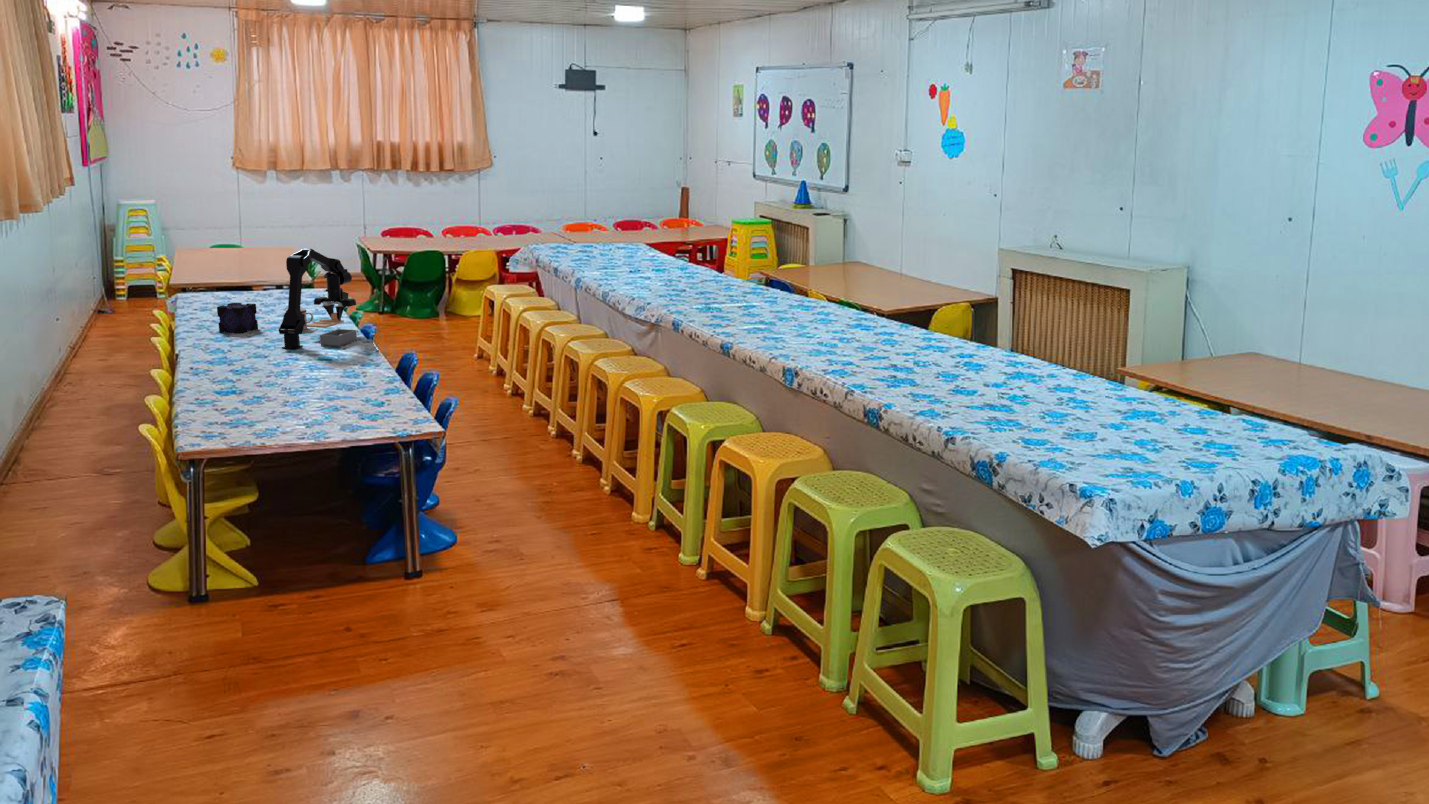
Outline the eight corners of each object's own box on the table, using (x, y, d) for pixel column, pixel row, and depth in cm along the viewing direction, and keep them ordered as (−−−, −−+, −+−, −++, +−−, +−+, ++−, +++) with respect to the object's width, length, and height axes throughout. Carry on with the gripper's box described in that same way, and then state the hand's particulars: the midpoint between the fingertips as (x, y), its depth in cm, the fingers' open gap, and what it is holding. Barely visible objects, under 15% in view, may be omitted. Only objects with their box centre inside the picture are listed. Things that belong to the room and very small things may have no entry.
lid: (325, 328, 511) (325, 320, 510) (306, 326, 514) (305, 318, 513) (347, 321, 528) (347, 313, 527) (328, 319, 530) (328, 312, 529)
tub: (339, 347, 501) (338, 336, 499) (321, 346, 503) (320, 334, 502) (356, 341, 514) (356, 330, 512) (339, 339, 516) (338, 328, 515)
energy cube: (219, 332, 529) (216, 306, 526) (235, 327, 541) (233, 302, 538) (242, 333, 527) (239, 308, 524) (258, 329, 538) (255, 303, 535)
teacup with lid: (289, 331, 533) (287, 306, 530) (285, 328, 540) (283, 303, 537) (316, 329, 539) (314, 304, 536) (311, 325, 547) (309, 301, 544)
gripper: (361, 285, 528) (363, 318, 532) (326, 282, 533) (328, 316, 537) (348, 288, 518) (350, 322, 522) (311, 286, 523) (314, 320, 527)
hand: (336, 320), depth 527 cm, fingers closed on lid, 3 cm apart
